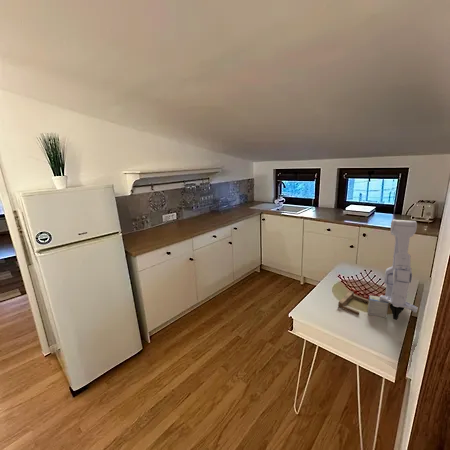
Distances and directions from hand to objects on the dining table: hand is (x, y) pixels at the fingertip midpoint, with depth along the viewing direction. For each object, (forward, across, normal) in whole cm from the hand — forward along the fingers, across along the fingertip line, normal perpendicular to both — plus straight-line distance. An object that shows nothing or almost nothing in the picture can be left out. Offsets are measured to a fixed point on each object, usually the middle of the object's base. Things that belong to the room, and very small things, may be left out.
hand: (395, 318), depth 119 cm
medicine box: (+2, -8, 0) cm, 8 cm away
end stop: (+1, -19, 0) cm, 19 cm away
